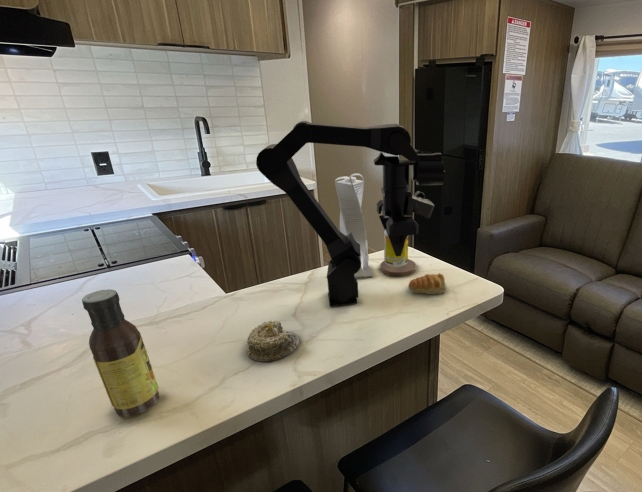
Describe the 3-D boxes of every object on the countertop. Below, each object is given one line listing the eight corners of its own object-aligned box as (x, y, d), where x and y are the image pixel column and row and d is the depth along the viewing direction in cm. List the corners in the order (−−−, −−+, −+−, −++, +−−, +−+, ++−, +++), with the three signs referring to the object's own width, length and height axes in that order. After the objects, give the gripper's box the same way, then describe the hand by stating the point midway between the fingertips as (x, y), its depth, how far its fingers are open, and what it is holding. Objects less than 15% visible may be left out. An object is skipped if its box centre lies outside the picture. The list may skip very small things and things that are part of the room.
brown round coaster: (384, 278, 108) (384, 274, 107) (377, 263, 116) (377, 259, 116) (420, 274, 110) (420, 270, 110) (410, 260, 119) (411, 256, 119)
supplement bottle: (410, 266, 94) (411, 224, 89) (387, 269, 92) (387, 226, 88) (404, 257, 98) (404, 217, 94) (381, 259, 97) (381, 219, 93)
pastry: (411, 297, 98) (411, 283, 97) (406, 284, 104) (406, 271, 103) (448, 293, 100) (448, 279, 99) (440, 281, 106) (441, 268, 105)
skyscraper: (373, 279, 107) (370, 174, 95) (342, 282, 105) (335, 175, 93) (368, 266, 114) (364, 167, 103) (339, 269, 112) (332, 168, 101)
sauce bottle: (169, 399, 65) (137, 292, 57) (128, 425, 60) (86, 311, 52) (146, 386, 68) (112, 281, 60) (105, 409, 63) (62, 299, 55)
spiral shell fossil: (263, 372, 73) (256, 348, 70) (238, 349, 79) (230, 327, 76) (309, 345, 79) (304, 322, 77) (283, 326, 85) (277, 305, 83)
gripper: (443, 194, 81) (440, 264, 87) (421, 175, 98) (419, 235, 104) (389, 196, 79) (389, 268, 85) (375, 176, 95) (377, 238, 101)
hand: (396, 251), depth 94 cm, fingers closed on supplement bottle, 5 cm apart
